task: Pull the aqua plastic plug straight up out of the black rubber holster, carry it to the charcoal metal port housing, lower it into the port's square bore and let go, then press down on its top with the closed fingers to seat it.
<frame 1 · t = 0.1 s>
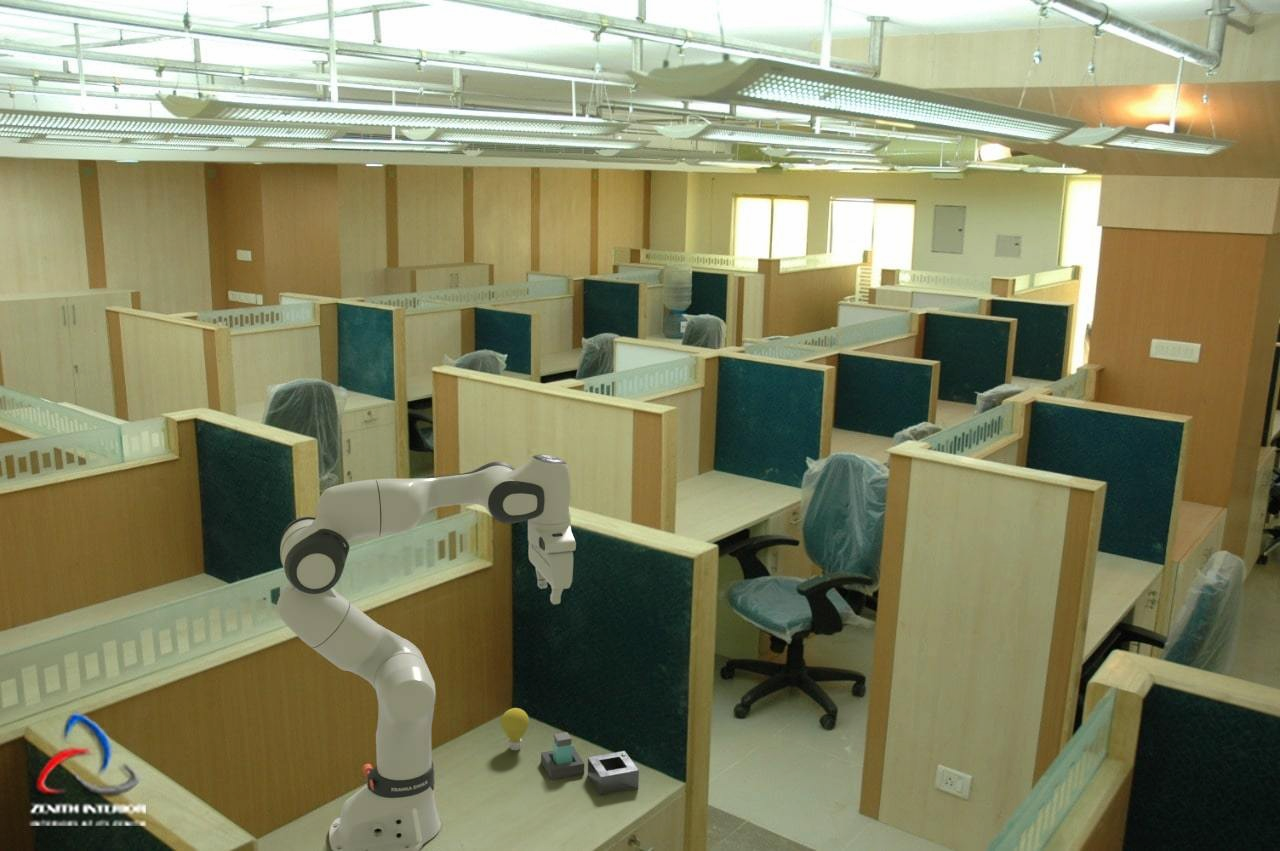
hand: (548, 595, 221), 48 cm above the table, fingers open, 8 cm apart
holster: (562, 767, 245), on the table
port: (612, 781, 240), on the table
plug: (562, 768, 245), resting in holster
light bulb: (515, 748, 254), on the table
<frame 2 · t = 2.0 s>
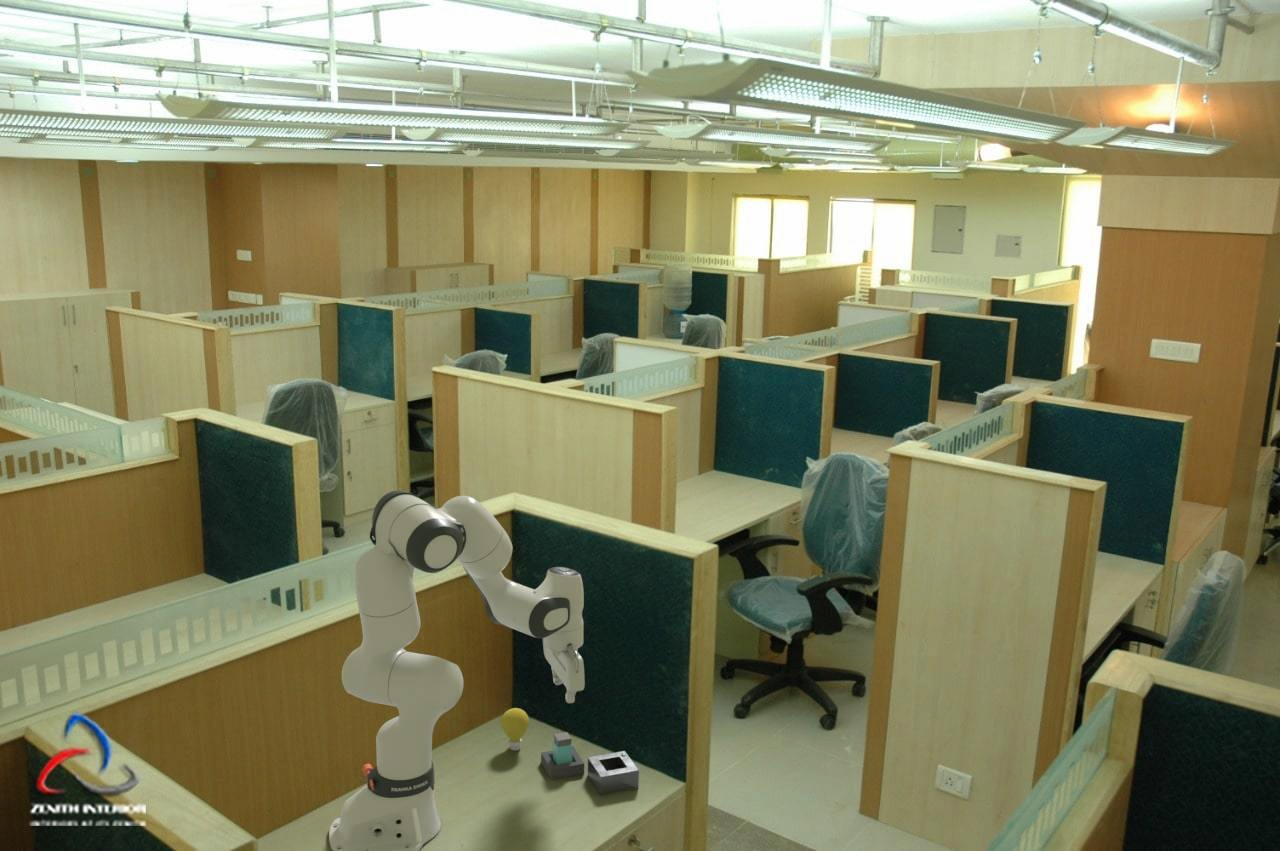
hand: (563, 692, 241), 19 cm above the table, fingers open, 8 cm apart
nothing on the table moved.
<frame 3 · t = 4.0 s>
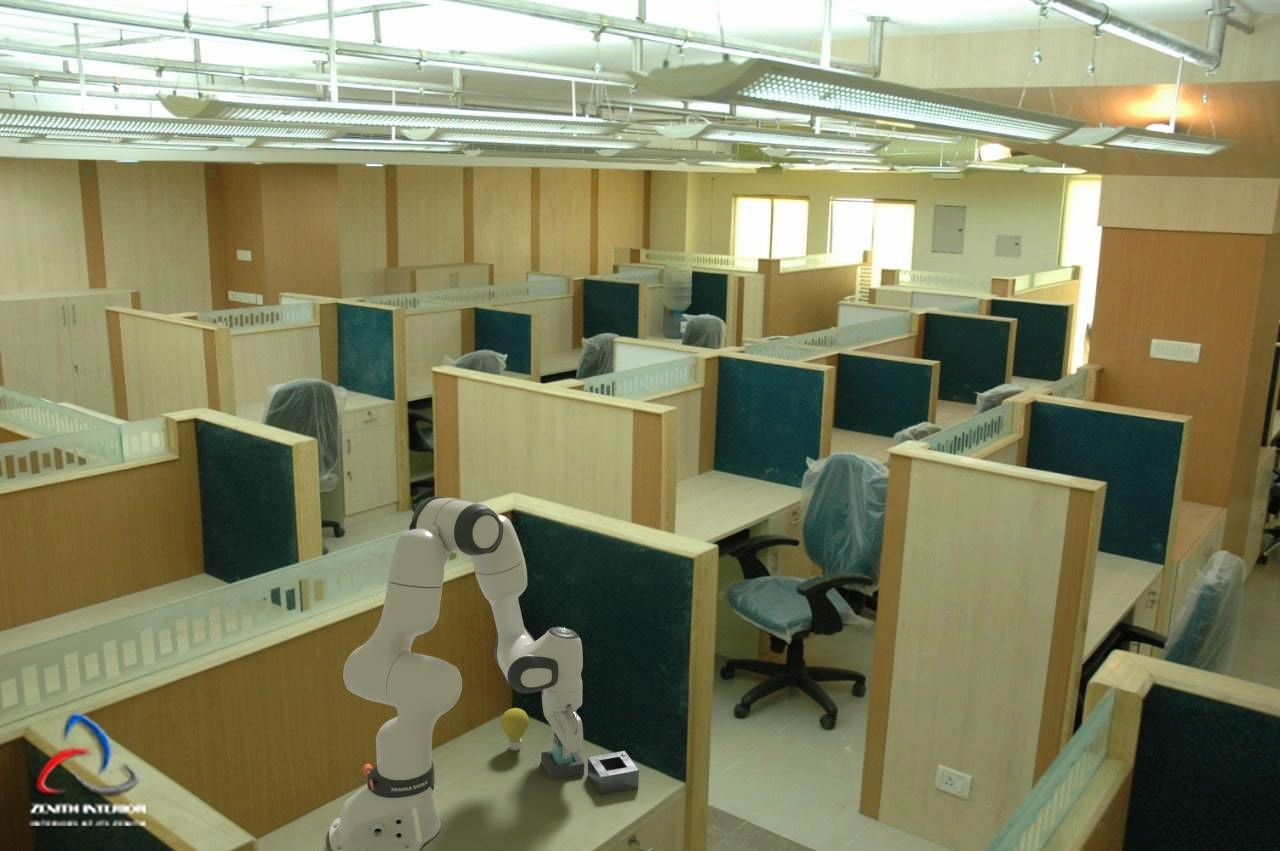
hand: (562, 751, 244), 4 cm above the table, fingers closed on plug, 4 cm apart
plug: (562, 767, 245), resting in holster, touching gripper
everything else where it was.
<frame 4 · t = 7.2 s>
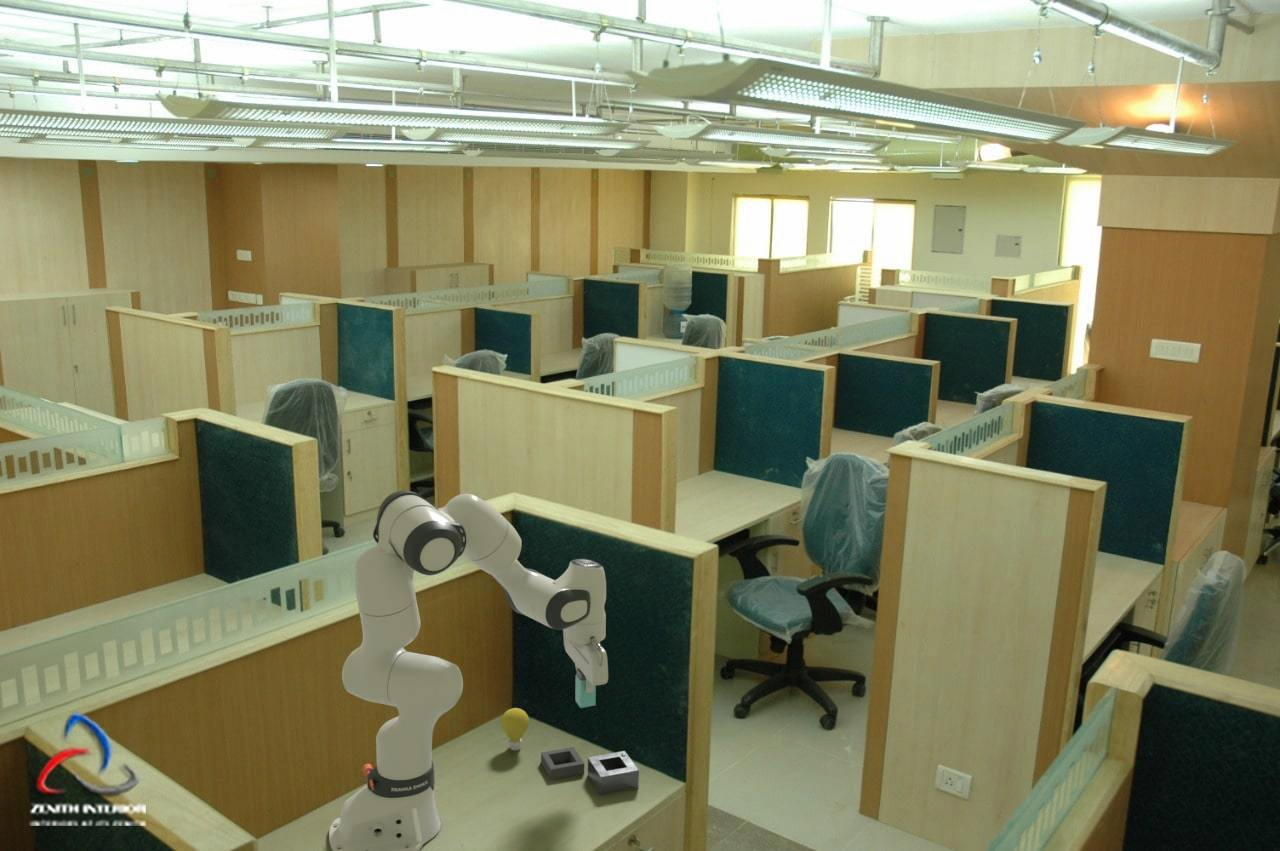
hand: (585, 686, 239), 22 cm above the table, fingers closed on plug, 4 cm apart
plug: (585, 703, 240), point 17 cm above the table, touching gripper
everything else where it was.
when the fingers open (6 cm above the table, at t = 10.4 s): plug drops 2 cm, resting in port.
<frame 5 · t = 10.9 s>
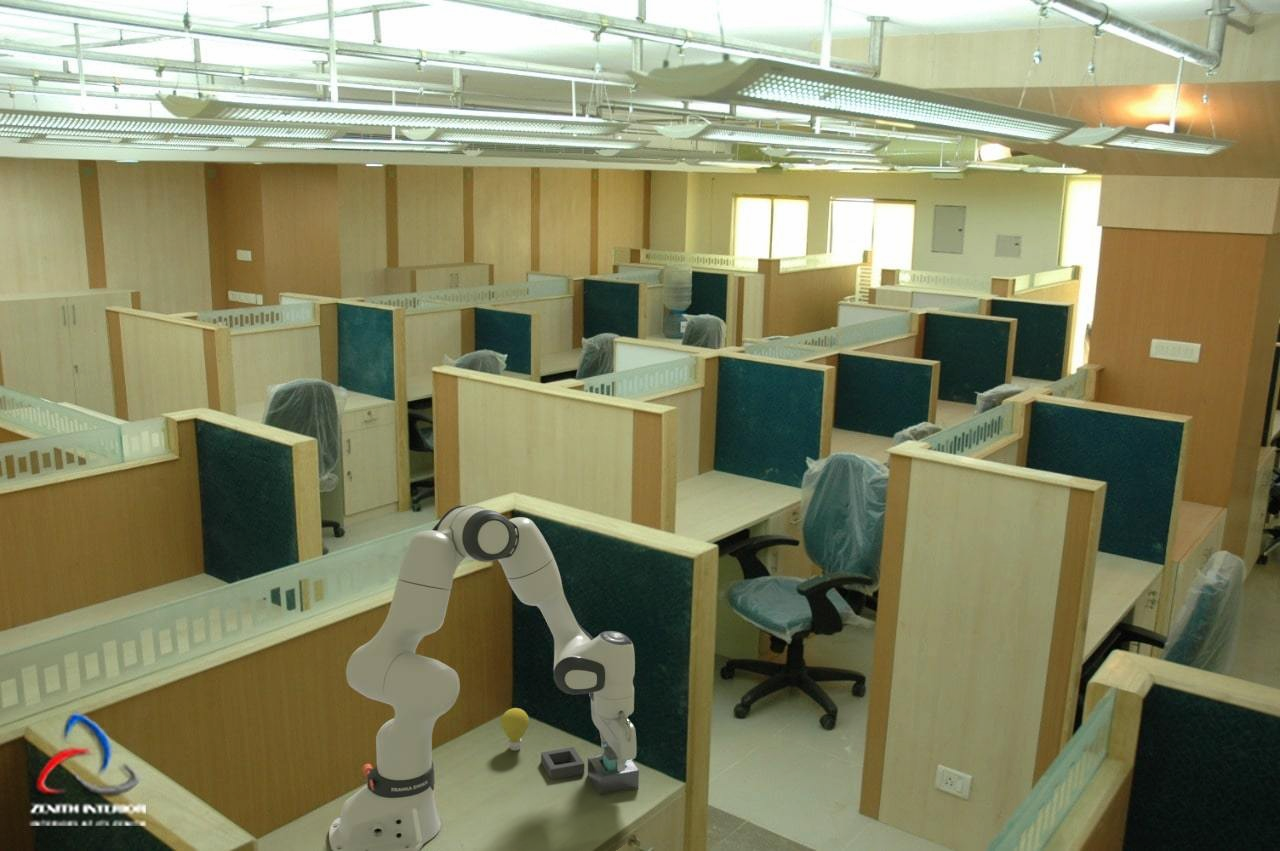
hand: (613, 759, 239), 6 cm above the table, fingers open, 8 cm apart
plug: (612, 781, 240), resting in port
everything else where it was.
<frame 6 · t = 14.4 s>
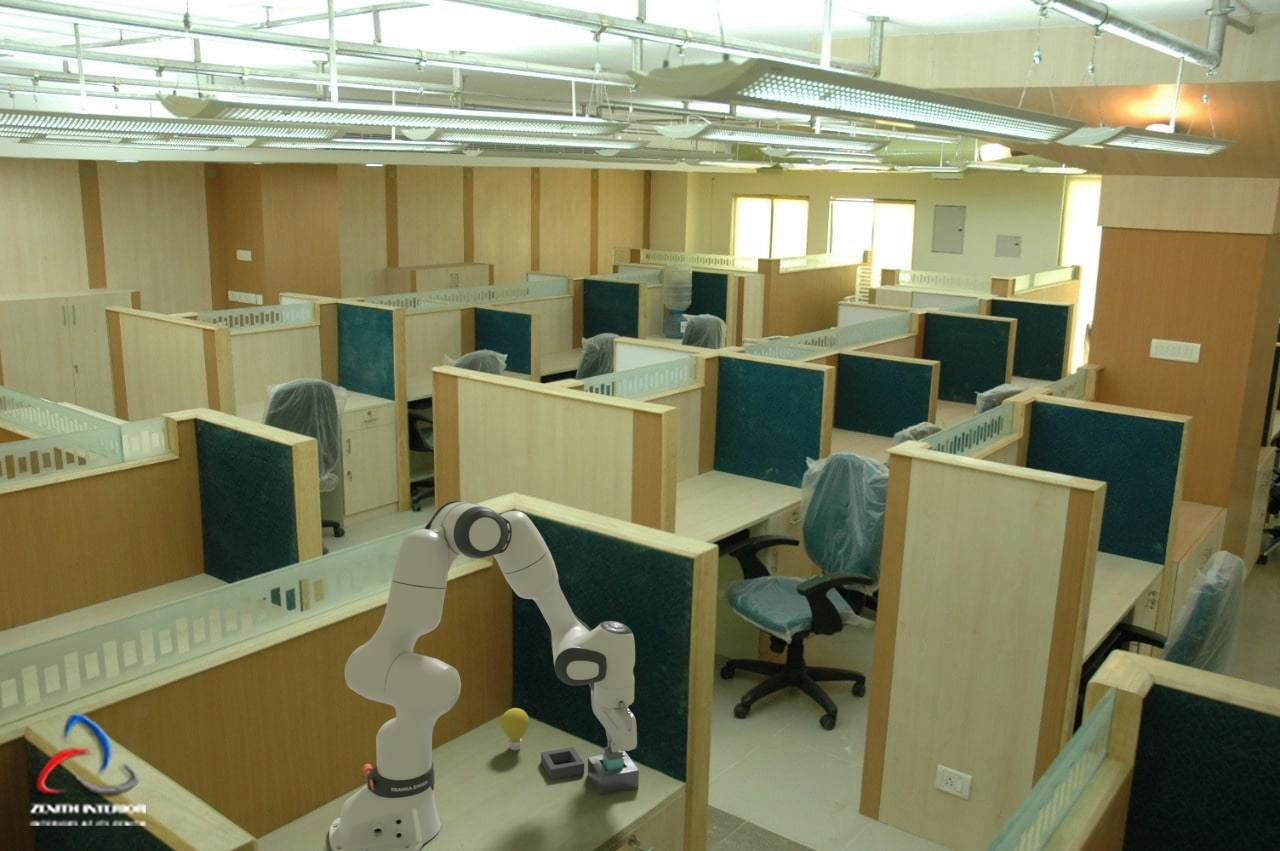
hand: (613, 749, 238), 8 cm above the table, fingers closed, pressing on plug
plug: (612, 781, 240), resting in port, touching gripper
everything else where it was.
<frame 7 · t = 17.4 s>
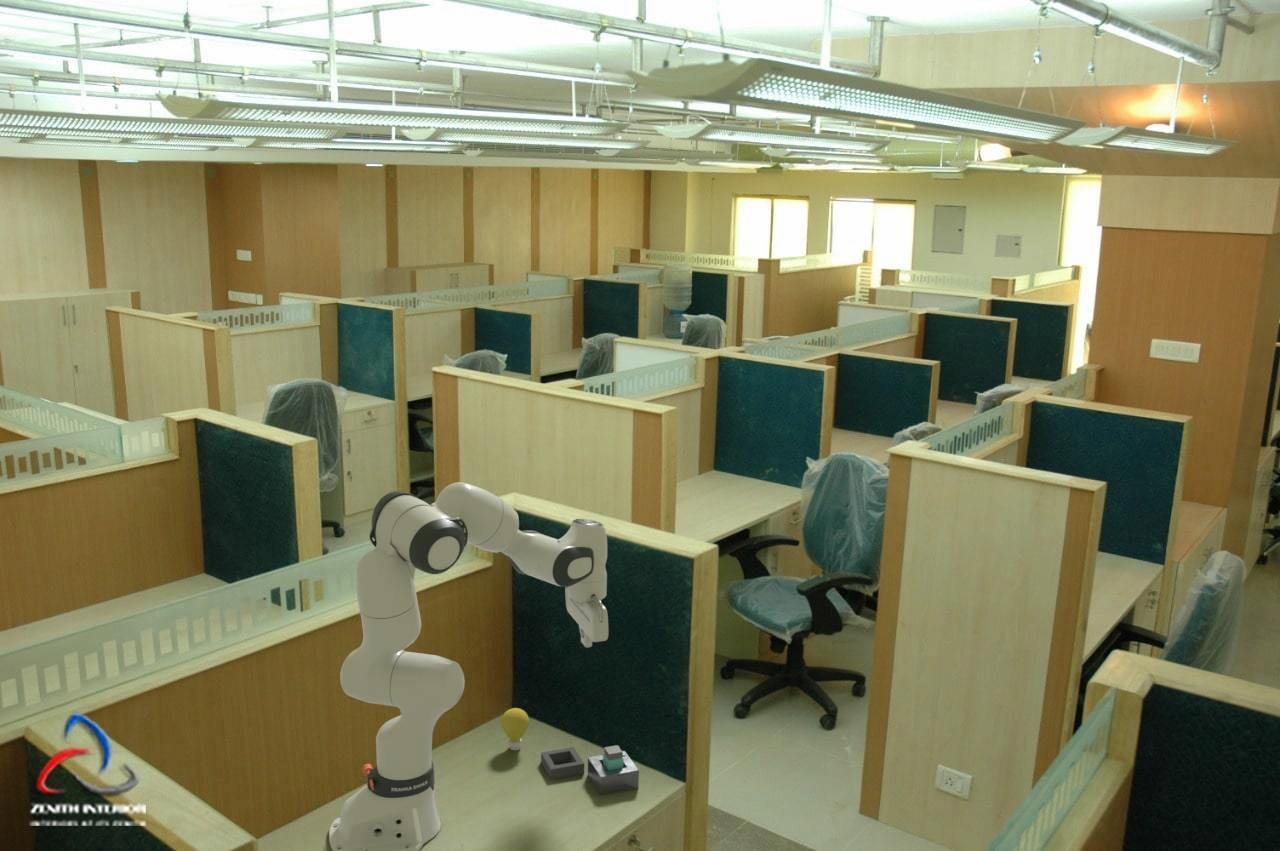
hand: (586, 644, 243), 29 cm above the table, fingers closed
plug: (612, 781, 240), resting in port
everything else where it was.
at the end: plug 0.0 cm off-centre on the port, point 0.0 cm above the port's base; plug tilted 0°; the gripper is holding nothing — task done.
